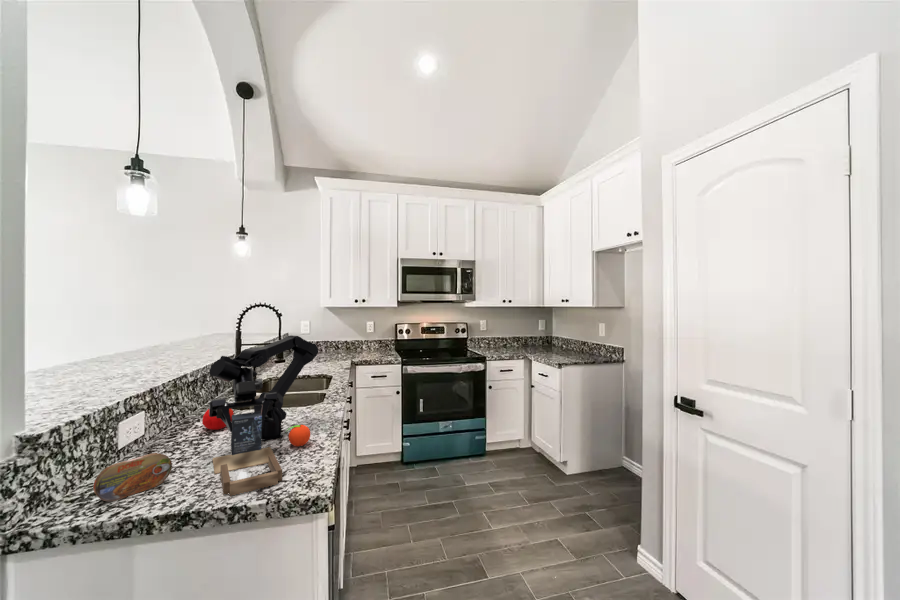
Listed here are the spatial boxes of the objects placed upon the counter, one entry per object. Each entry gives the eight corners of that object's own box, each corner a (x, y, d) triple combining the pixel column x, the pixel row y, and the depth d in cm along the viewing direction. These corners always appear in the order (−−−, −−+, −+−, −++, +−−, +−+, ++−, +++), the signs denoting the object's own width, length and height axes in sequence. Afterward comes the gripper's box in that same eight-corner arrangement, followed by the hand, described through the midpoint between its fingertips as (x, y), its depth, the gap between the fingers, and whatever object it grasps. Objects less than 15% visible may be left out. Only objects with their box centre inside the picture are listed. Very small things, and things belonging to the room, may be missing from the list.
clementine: (284, 451, 117) (284, 429, 117) (285, 443, 124) (285, 422, 124) (310, 448, 120) (310, 426, 120) (310, 440, 126) (310, 420, 127)
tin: (95, 508, 83) (96, 471, 83) (90, 503, 85) (92, 467, 85) (172, 481, 96) (173, 450, 96) (167, 478, 98) (168, 447, 98)
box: (231, 456, 105) (232, 419, 105) (230, 449, 110) (231, 414, 110) (261, 450, 109) (262, 415, 109) (259, 444, 114) (260, 410, 114)
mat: (270, 447, 120) (270, 447, 120) (277, 461, 110) (277, 460, 110) (212, 459, 110) (212, 458, 110) (214, 474, 100) (214, 473, 100)
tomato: (197, 429, 135) (197, 407, 135) (225, 422, 144) (226, 401, 144) (209, 434, 130) (210, 411, 130) (238, 426, 139) (239, 405, 139)
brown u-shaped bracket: (273, 464, 107) (274, 454, 107) (283, 483, 96) (283, 471, 97) (220, 476, 100) (220, 465, 100) (223, 497, 89) (224, 485, 89)
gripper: (210, 373, 107) (211, 420, 98) (278, 367, 118) (284, 409, 109) (208, 393, 114) (209, 440, 105) (273, 386, 125) (279, 428, 116)
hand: (247, 428), depth 108 cm, fingers closed on box, 8 cm apart
